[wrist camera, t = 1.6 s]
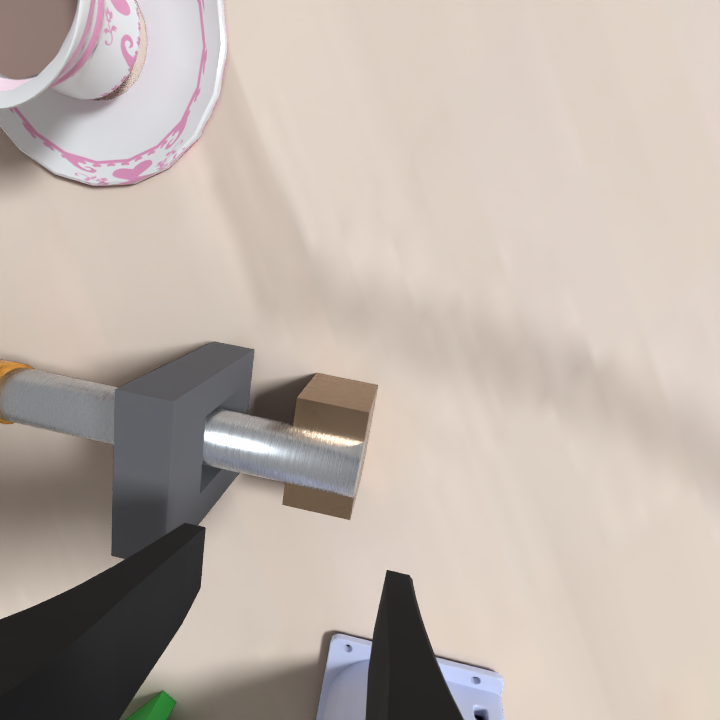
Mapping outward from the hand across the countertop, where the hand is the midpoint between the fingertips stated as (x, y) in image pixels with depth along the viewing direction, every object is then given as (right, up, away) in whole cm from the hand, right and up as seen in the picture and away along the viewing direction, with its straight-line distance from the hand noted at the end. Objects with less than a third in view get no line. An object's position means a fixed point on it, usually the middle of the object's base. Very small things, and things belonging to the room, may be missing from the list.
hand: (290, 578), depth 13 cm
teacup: (-9, +20, +7) cm, 23 cm away
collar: (-5, +4, +10) cm, 12 cm away
